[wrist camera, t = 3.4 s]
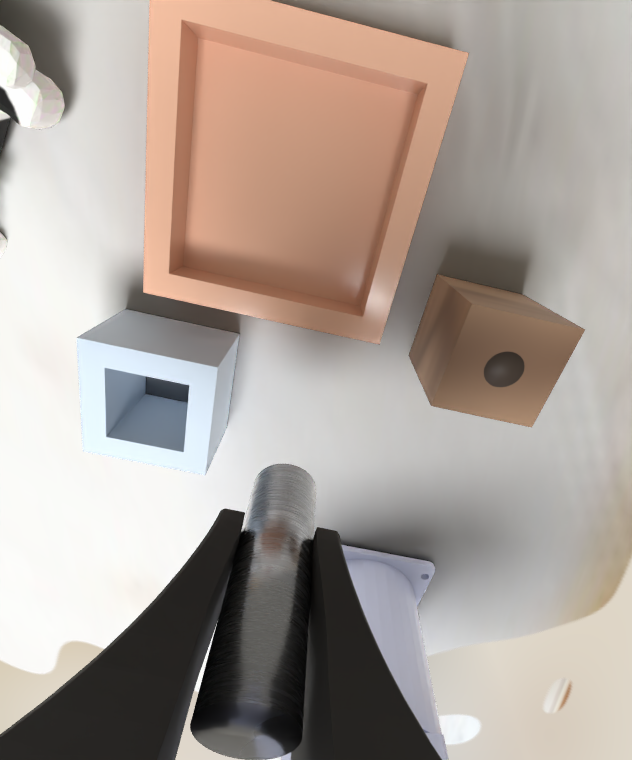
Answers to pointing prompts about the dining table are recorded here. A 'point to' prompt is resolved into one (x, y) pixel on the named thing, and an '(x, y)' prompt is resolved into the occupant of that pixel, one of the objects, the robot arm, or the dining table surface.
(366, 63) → the tray
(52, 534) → the dining table surface
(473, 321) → the walnut block
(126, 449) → the slate block
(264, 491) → the pin
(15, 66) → the toy
